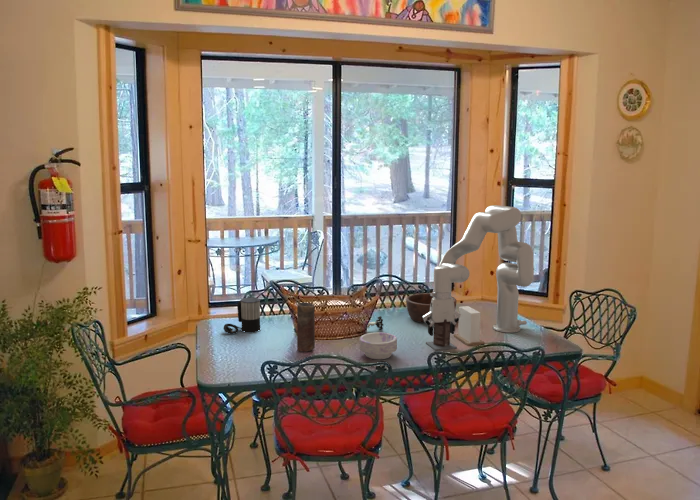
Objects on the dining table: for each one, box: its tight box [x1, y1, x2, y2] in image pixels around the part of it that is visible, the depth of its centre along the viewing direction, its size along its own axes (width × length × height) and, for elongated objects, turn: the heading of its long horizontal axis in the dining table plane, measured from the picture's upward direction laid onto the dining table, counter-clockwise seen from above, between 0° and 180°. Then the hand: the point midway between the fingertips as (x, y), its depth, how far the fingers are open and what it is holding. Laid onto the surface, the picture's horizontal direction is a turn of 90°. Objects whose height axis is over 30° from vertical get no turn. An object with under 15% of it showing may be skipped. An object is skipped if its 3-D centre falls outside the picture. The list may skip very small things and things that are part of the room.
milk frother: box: [223, 296, 261, 335], centre depth 278 cm, size 14×16×15 cm
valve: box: [366, 316, 384, 331], centre depth 280 cm, size 7×7×12 cm
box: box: [432, 319, 451, 347], centre depth 257 cm, size 6×4×12 cm
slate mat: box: [425, 341, 457, 351], centre depth 258 cm, size 10×10×1 cm
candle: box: [296, 301, 316, 353], centre depth 251 cm, size 8×7×20 cm
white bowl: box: [359, 331, 398, 360], centre depth 245 cm, size 15×15×8 cm
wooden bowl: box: [405, 292, 457, 324], centre depth 301 cm, size 25×25×10 cm
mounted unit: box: [453, 305, 485, 347], centre depth 265 cm, size 8×14×14 cm, turn 15°
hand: (441, 334), depth 257 cm, fingers open, 9 cm apart
